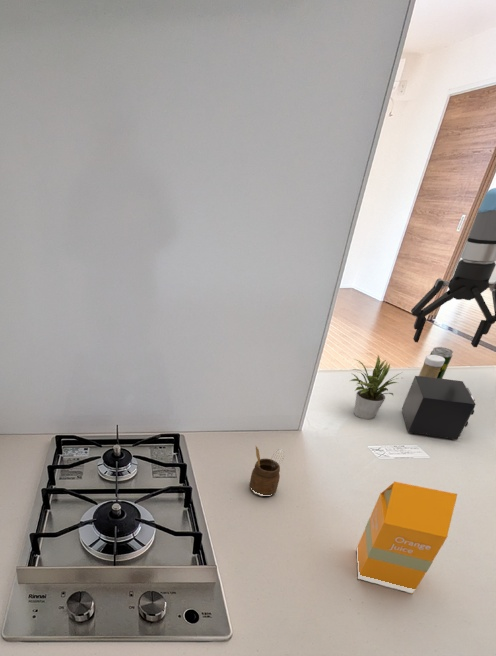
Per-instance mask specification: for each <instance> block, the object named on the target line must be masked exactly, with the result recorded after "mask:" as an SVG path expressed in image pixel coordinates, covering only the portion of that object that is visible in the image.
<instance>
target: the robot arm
mask: <svg viewBox="0 0 496 656" xmlns="http://www.w3.org/2000/svg"><path fill="white" fill-rule="evenodd" d="M460 258H461V259H460V260H458V262H457V264H456V267H455V269H454V272H453V275H452V277H451V279H450V280H445V279H442V278H437V279H436V280H435V282H434V284H433V286H432V288H430V290H429V291H428V292H427V293H426V294H425V295H424V296H423V297H422V298H421V299H420V300H419V301H418V302H417V303H416V305H415V306H413V307H412V308H411V309H410V312H411V315H412V316H414V317H416V318H415V322H414V324H413V329H414V330H415V333H414V335H413V338H412V339H413V341H414V343H419V341H420V338H421V335H422V333H423V330H424V327H425V325H426V322H427V317H428V315H430V314H431V313H432V312H434V311H436V310H437V309H439V308H440V307H441V306H443V305H445V304H446V303H448V302H449V301H451V300H453V299H454V300H459V301H460V300H465V301H471V300H475V302H476V304H477V306H478V307H479V309H480V311H481V313H482V314H483V317H484V319H481V320H480V322H479V324H478V327H477V329H476V330H475V333H474V336H473V337H472V340H471V342H470V345H471V346H472V347H473V348H478V346H479V343H480V342H481V339H482V337H483V335H485V336H487V335H488V333H489V331H490V329H491V327H492V325H494V324H495V323H496V281H495V282H489V281H490V279H491V277H492V275H493V272H494V270H495V269H496V187H493V188H490V189H489V190H488V191H487V192H486V193H485V194H484V197H483V200H482V201H481V204H480V206H479V208H478V209H477V213H476V215H475V218H474V221H473V224H472V227H471V229H470V232H469V234H468V236H467V240H466V242H465V245H464V247H463V250H462V252H461V255H460ZM446 287H448V290H447V291H446V292H444V293H443V294H442V295H440V296H439V297H438V298H437V299H434V298H435V297H436V296H437V295H438V293H440V292H441V290H444V289H445V288H446ZM488 289H489V291H490V292H491V297H492V305H493V310H494V314H492V312H491V311H490V309H489V307H488V304H487V303H486V301H485V299H484V297H483V296H482V293H484V292H486V290H488ZM433 299H434V301H432V300H433ZM431 301H432V302H431ZM430 302H431V303H430ZM429 303H430V304H429Z"/></svg>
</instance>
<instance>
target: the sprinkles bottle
mask: <svg viewBox="0 0 496 656" xmlns="http://www.w3.org/2000/svg"><path fill="white" fill-rule="evenodd" d="M444 362H445V358H443V357H441V356H438V355H430V354H428V355H426V356H425V358H424V361H423V365H422V367H421V369H420V372H419V373H418V376H423V377H431V378H437V376H438V374H439V371H440V369H441V367H442V366H443V364H444Z"/></svg>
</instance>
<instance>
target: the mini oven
mask: <svg viewBox="0 0 496 656" xmlns="http://www.w3.org/2000/svg"><path fill="white" fill-rule="evenodd" d="M475 401H476V399H475V398H474V396H473V394H472V392H471V391H470V389H469V387H467V386H466V385H465V382H464V381H463V380H457V379H447V378H442V379H440V378H431V377H423V376H419V375H414V377H413V380H412V382H411V385H410V387H409V390H408V392H407V394H406V397H405V399H404V401H403V403H402V404H403V405H402V406H401V411H402V415H403V418H404V422H405V424H406V429H407V432H408V433H410V434H417V435H418V434H419V435H425V436H432V437H438V438H445V439H448V440H459V437H460V436H461V435H462V432H463V431H464V429H465V428H466V427H468V425H469V419H470V417H471V416H473V415H474V414H475V408H476V405H477V404H476V402H475Z"/></svg>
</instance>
